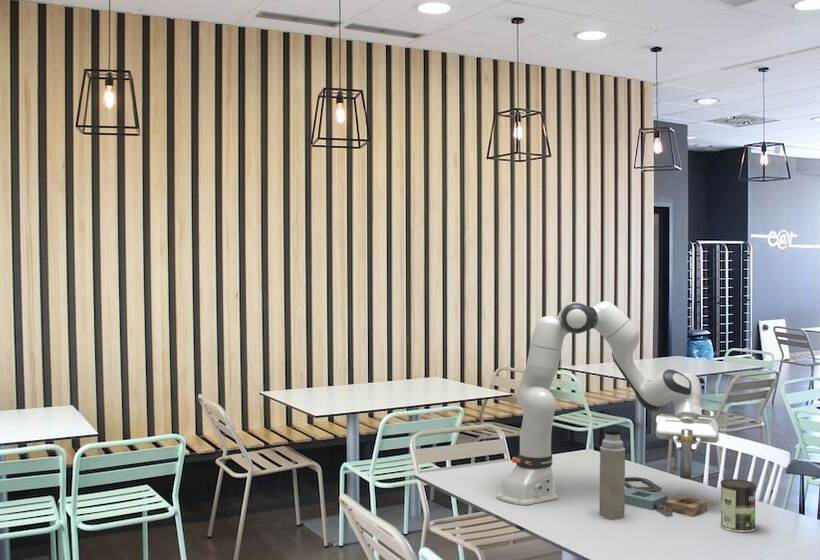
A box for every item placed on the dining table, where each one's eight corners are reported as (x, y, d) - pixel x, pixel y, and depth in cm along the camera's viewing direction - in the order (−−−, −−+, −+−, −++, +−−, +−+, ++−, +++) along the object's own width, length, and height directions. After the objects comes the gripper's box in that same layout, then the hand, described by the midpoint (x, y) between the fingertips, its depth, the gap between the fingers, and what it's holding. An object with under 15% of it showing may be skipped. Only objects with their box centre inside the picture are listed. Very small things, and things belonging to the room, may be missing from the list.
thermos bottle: (600, 510, 283) (601, 427, 283) (625, 513, 281) (626, 429, 280) (598, 517, 276) (598, 432, 275) (623, 520, 273) (624, 433, 273)
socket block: (692, 516, 277) (692, 507, 277) (664, 510, 284) (665, 501, 284) (707, 510, 284) (707, 501, 284) (679, 504, 291) (679, 495, 291)
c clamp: (667, 495, 304) (667, 488, 304) (619, 496, 303) (619, 488, 303) (649, 480, 324) (649, 473, 324) (604, 481, 324) (604, 474, 324)
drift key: (672, 516, 278) (672, 510, 278) (666, 516, 277) (666, 511, 277) (659, 509, 286) (659, 503, 286) (654, 509, 285) (654, 504, 285)
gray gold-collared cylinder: (688, 479, 281) (689, 431, 281) (677, 477, 284) (679, 429, 284) (693, 477, 284) (694, 430, 283) (683, 475, 286) (684, 428, 286)
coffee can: (758, 526, 268) (758, 481, 268) (751, 535, 259) (752, 489, 259) (723, 520, 274) (724, 477, 273) (716, 529, 265) (717, 484, 264)
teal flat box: (652, 510, 284) (652, 501, 284) (615, 501, 295) (615, 492, 294) (667, 504, 291) (667, 495, 291) (631, 495, 301) (631, 487, 301)
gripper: (656, 408, 293) (653, 441, 284) (719, 412, 287) (718, 447, 278) (656, 418, 298) (654, 452, 289) (718, 423, 291) (718, 457, 282)
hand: (686, 449), depth 283 cm, fingers closed on gray gold-collared cylinder, 4 cm apart
